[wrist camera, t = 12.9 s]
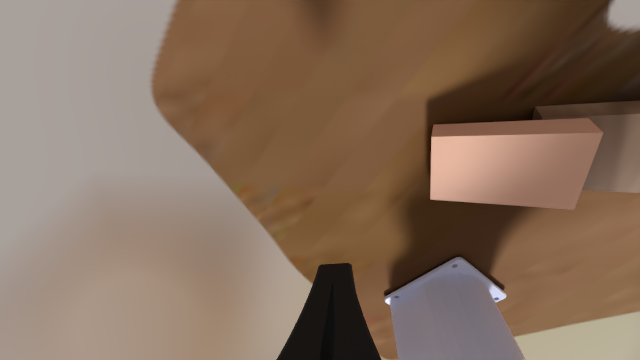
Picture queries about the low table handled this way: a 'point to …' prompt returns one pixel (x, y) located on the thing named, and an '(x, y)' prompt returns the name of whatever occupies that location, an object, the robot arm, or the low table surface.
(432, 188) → the terracotta domino
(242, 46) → the low table surface
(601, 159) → the walnut domino
